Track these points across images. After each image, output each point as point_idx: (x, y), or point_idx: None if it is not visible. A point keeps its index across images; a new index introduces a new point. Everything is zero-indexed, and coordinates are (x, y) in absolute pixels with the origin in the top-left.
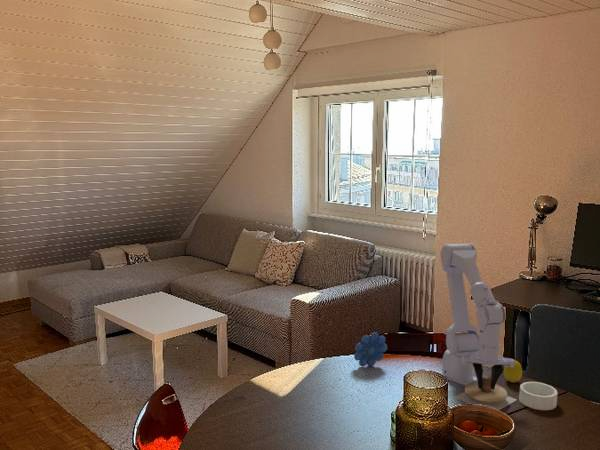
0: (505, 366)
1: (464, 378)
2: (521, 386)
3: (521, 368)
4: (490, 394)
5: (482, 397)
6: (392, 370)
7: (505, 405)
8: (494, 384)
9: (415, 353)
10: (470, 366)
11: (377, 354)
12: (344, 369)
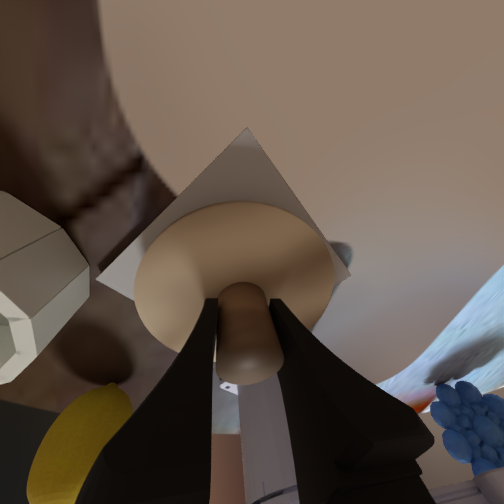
0: None
1: (276, 374)
2: (26, 340)
3: (31, 467)
4: (231, 265)
5: (286, 230)
6: (409, 379)
7: (160, 221)
8: (205, 318)
9: None
10: (266, 431)
11: (457, 420)
12: (497, 365)
